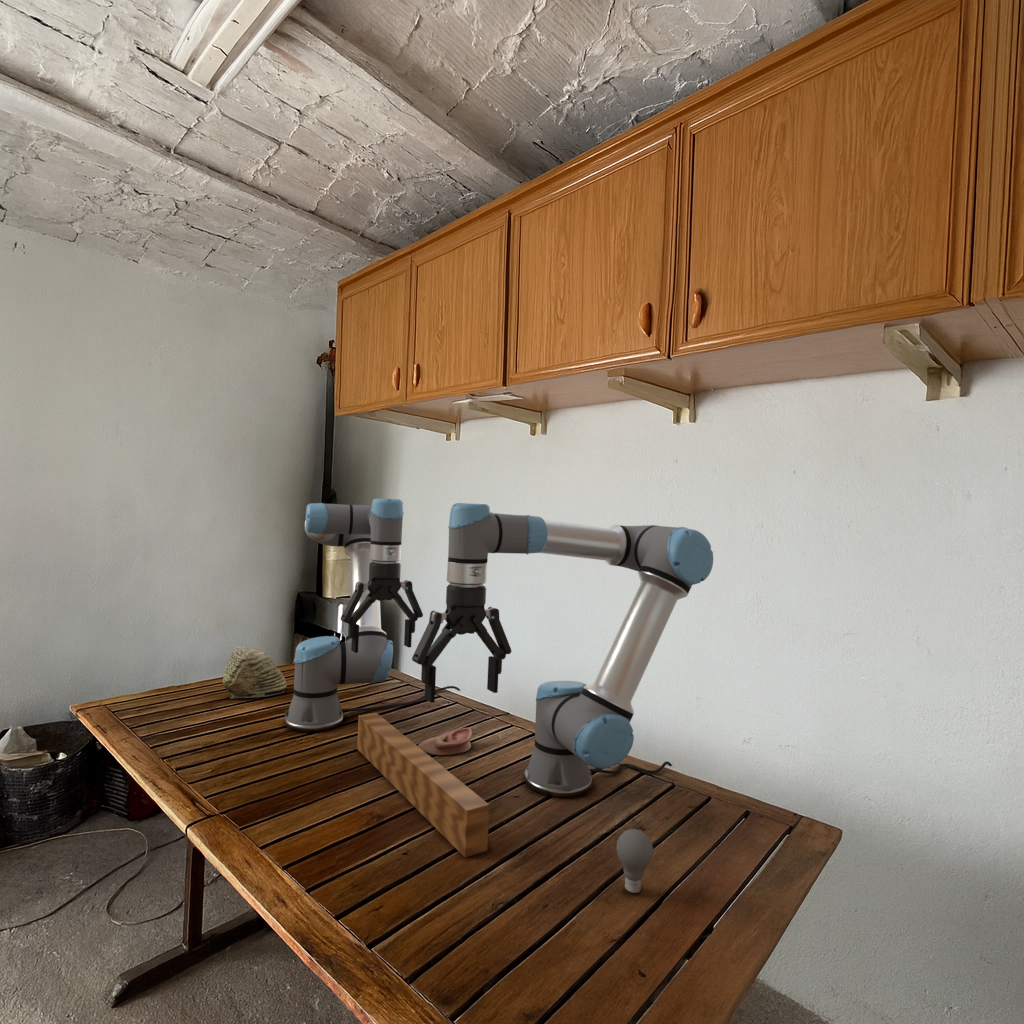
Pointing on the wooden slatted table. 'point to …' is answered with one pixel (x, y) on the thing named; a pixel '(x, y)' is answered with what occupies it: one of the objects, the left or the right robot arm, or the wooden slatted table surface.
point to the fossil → (252, 674)
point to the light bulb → (634, 857)
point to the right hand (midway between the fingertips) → (461, 695)
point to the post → (426, 785)
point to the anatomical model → (448, 743)
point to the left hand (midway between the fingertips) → (381, 648)
